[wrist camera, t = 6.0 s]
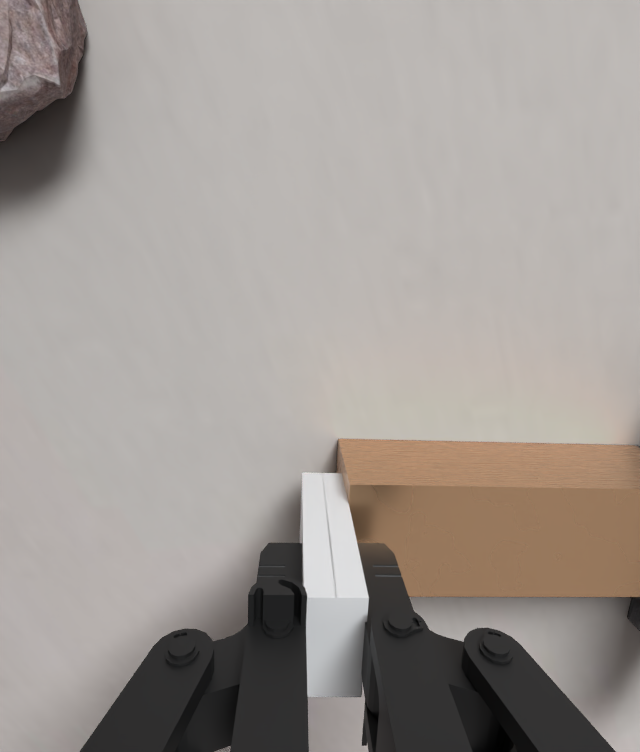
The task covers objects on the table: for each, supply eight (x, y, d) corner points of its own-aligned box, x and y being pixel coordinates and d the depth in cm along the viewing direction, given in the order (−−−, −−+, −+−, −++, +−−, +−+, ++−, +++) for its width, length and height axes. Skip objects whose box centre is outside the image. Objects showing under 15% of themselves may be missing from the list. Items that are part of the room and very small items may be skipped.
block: (333, 530, 19) (343, 596, 15) (338, 438, 18) (349, 484, 14) (699, 534, 20) (796, 597, 16) (721, 447, 19) (829, 492, 15)
